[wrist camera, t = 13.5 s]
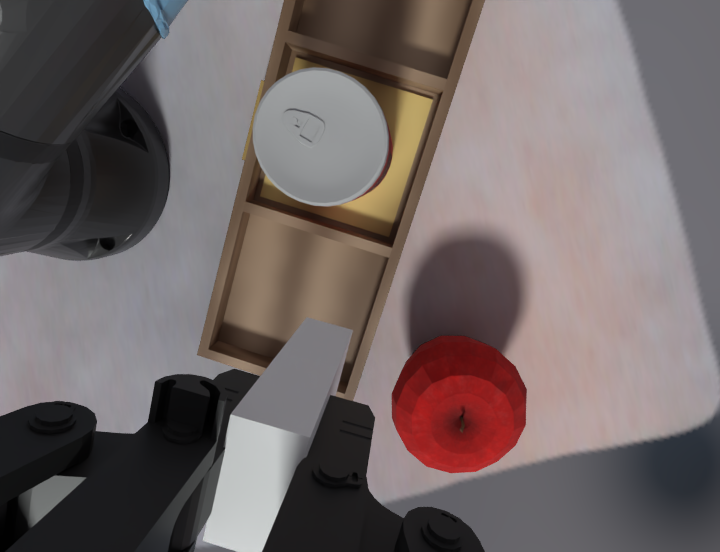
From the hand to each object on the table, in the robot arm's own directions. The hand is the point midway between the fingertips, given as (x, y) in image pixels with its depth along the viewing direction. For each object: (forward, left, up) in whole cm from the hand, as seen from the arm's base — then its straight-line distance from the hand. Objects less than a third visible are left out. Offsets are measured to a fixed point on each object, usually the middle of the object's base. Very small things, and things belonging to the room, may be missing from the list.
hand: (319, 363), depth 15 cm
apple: (+10, -8, -26) cm, 29 cm away
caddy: (-4, +7, -26) cm, 27 cm away
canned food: (-4, +7, -25) cm, 26 cm away
